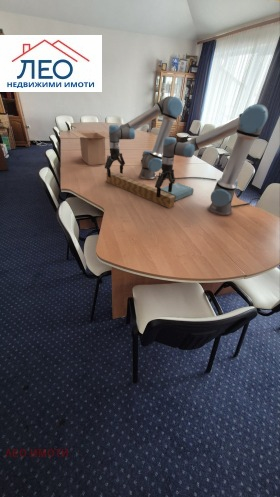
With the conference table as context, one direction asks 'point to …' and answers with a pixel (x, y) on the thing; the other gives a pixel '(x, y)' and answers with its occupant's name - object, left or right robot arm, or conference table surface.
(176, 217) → the conference table surface
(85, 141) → the box
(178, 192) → the book
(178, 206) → the conference table surface
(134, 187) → the post
